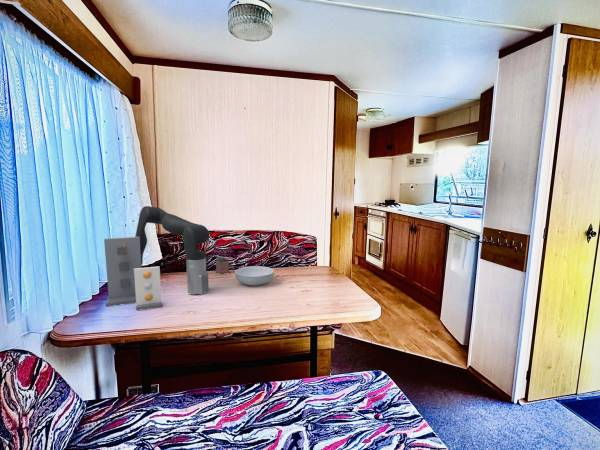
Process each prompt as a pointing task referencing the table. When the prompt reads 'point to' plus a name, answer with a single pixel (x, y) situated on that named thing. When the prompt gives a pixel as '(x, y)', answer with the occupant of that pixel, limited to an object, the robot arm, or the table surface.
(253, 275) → the serving bowl
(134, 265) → the button panel
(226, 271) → the lighter
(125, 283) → the button bottom
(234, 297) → the table surface
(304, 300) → the table surface
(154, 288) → the pattern card
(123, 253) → the button top
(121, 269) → the button middle
